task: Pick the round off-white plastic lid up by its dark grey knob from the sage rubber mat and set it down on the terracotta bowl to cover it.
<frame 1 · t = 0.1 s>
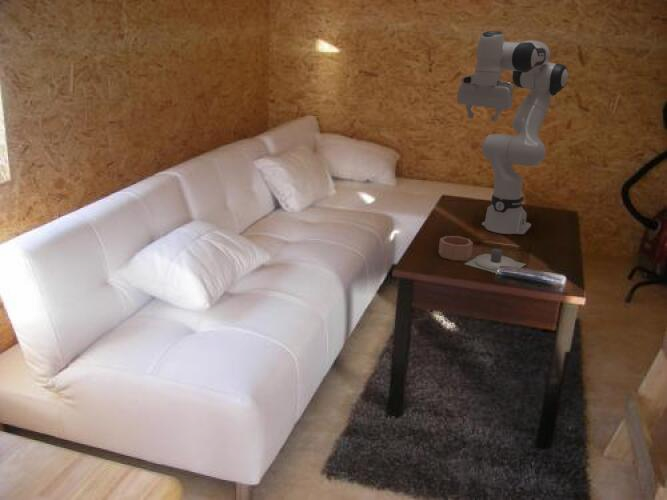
hand: (482, 119, 232), 48 cm above the table, tool pointing down, fingers open, 8 cm apart
lid: (495, 264, 227), point 1 cm above the table, touching mat
mat: (495, 265, 227), on the table
bowl: (454, 256, 234), on the table
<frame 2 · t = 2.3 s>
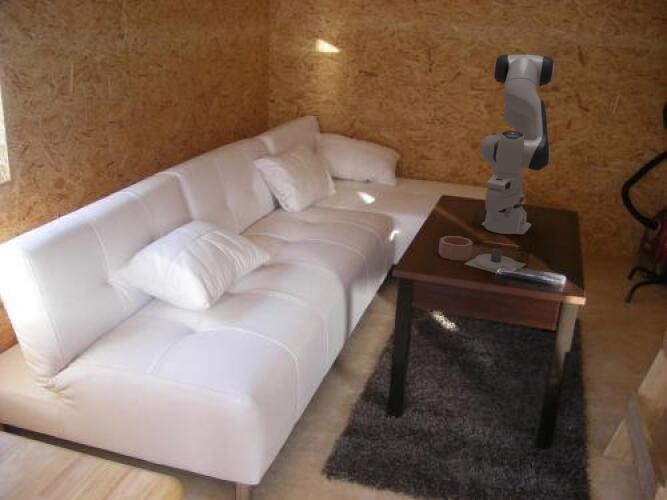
hand: (501, 219, 221), 17 cm above the table, tool pointing down, fingers open, 8 cm apart
nothing on the table moved.
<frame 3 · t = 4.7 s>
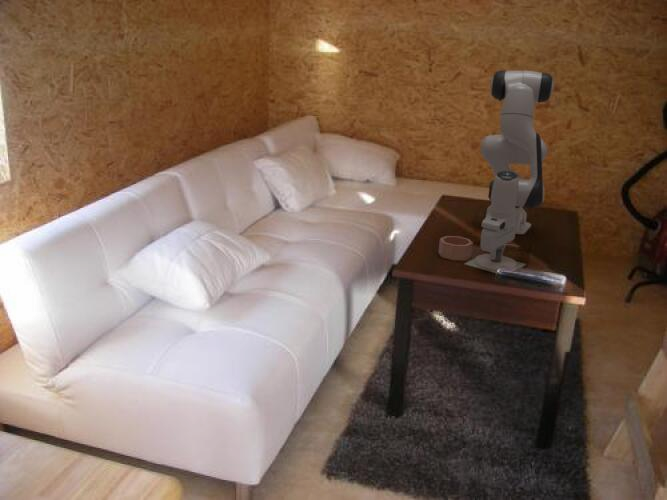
hand: (496, 257, 226), 3 cm above the table, tool pointing down, fingers closed on lid, 3 cm apart
lid: (495, 264, 227), point 1 cm above the table, touching gripper, mat
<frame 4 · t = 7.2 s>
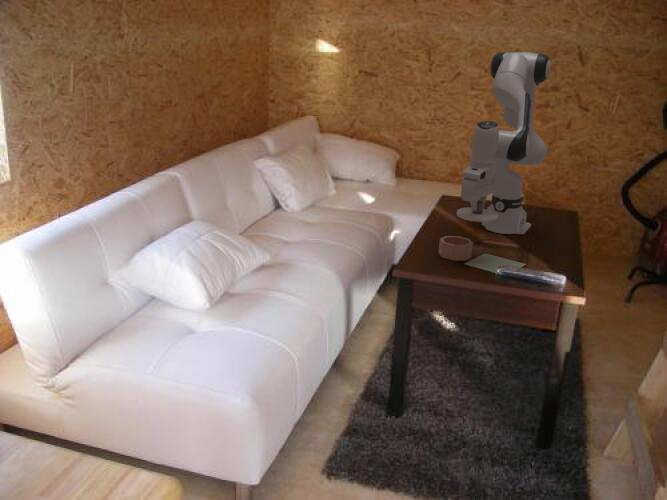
hand: (477, 209, 225), 19 cm above the table, tool pointing down, fingers closed on lid, 3 cm apart
lid: (476, 216, 226), point 16 cm above the table, touching gripper
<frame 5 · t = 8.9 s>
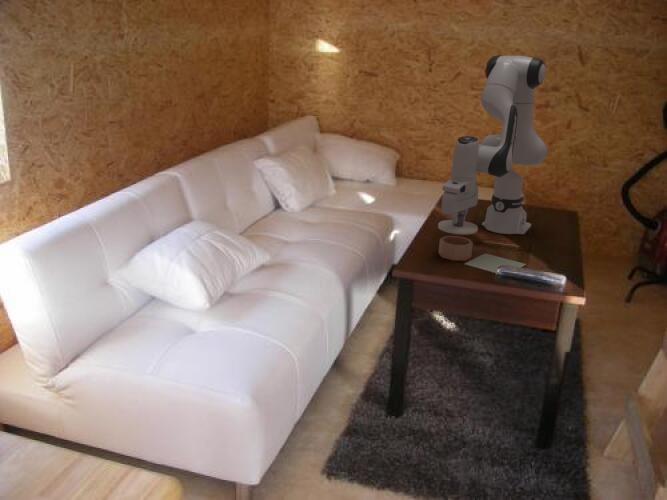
hand: (458, 221, 230), 13 cm above the table, tool pointing down, fingers closed on lid, 3 cm apart
lid: (457, 228, 231), point 11 cm above the table, touching gripper
when the fingers open (10 cm above the table, at t = 10.2 s): lid drops 1 cm, resting on bowl.
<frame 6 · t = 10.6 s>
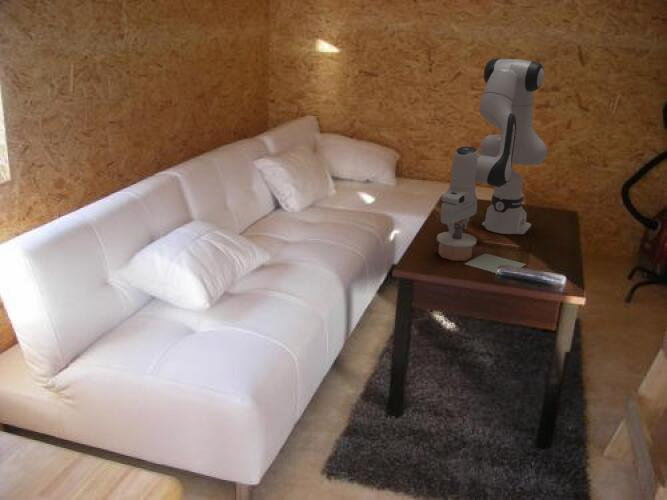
hand: (457, 231, 231), 10 cm above the table, tool pointing down, fingers open, 7 cm apart
lid: (456, 240, 232), point 6 cm above the table, touching bowl
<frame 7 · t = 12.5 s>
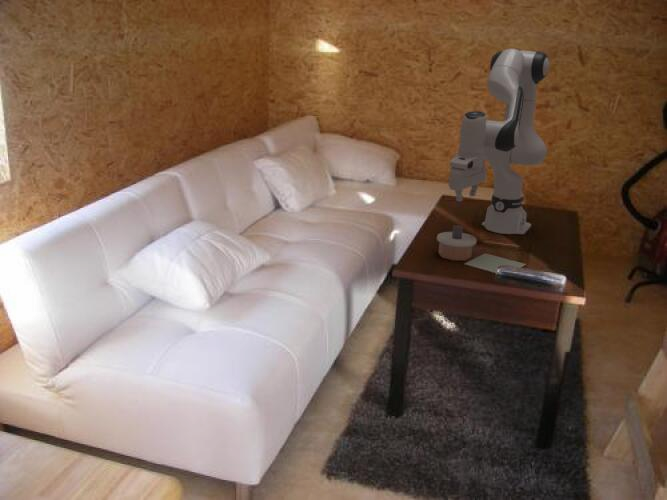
hand: (465, 198, 228), 22 cm above the table, tool pointing down, fingers open, 8 cm apart
nothing on the table moved.
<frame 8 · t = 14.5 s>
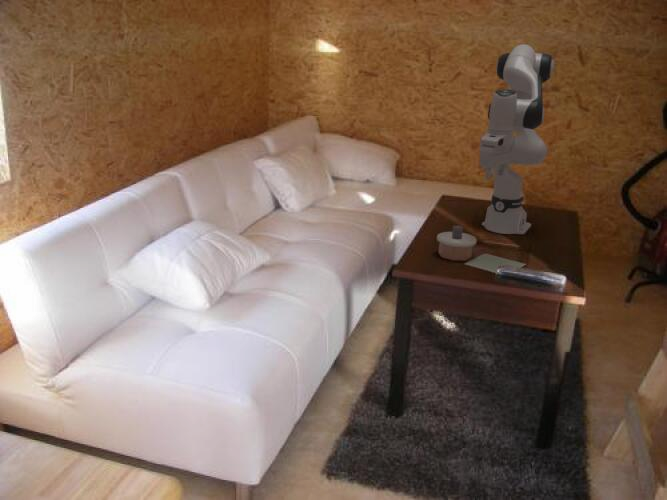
hand: (494, 177, 228), 29 cm above the table, tool pointing down, fingers open, 8 cm apart
nothing on the table moved.
at the end: lid 0.1 cm off-centre on the bowl, point 6.0 cm above the bowl's base; lid touching bowl; the gripper is holding nothing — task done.
